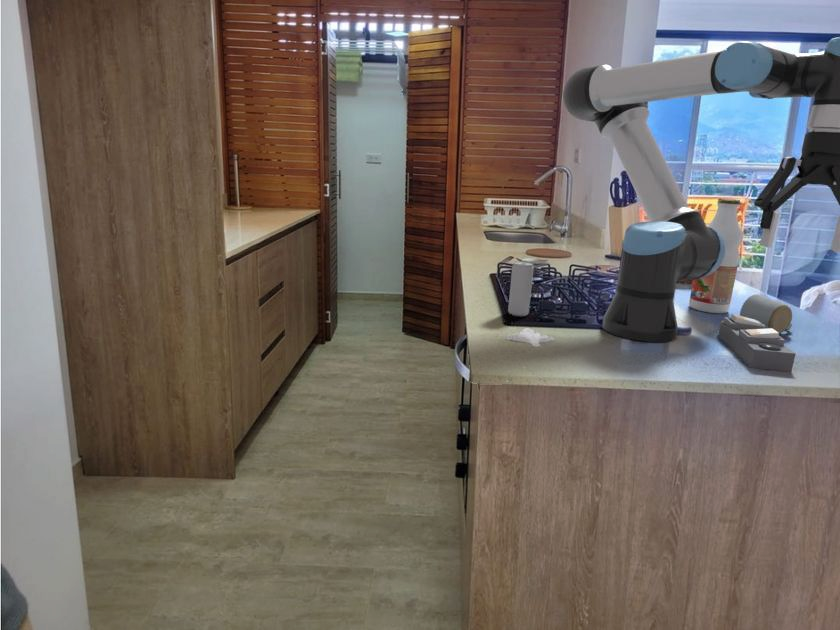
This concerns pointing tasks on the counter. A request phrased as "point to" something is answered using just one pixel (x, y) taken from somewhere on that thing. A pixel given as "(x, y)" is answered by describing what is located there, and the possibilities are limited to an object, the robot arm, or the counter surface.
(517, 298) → the beverage can
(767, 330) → the rocker outlet
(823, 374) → the counter surface
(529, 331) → the acanthus leaf ornament
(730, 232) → the fruit juice
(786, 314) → the ceramic mug
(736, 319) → the rocker outlet
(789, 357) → the power strip
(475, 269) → the counter surface
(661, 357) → the counter surface
